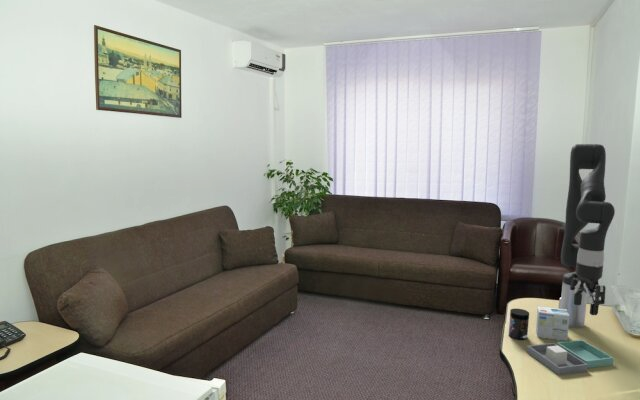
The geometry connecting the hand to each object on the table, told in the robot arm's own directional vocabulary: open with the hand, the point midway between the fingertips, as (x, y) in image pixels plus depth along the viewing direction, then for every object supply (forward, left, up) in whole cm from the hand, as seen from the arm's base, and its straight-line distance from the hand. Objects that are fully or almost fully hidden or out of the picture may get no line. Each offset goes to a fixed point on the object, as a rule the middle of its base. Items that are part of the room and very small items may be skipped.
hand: (585, 309), depth 155 cm
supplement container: (-24, -7, -21) cm, 32 cm away
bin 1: (-4, -6, -20) cm, 22 cm away
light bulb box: (-22, +6, -21) cm, 31 cm away
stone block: (-4, -6, -20) cm, 21 cm away
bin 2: (-5, +6, -20) cm, 22 cm away
